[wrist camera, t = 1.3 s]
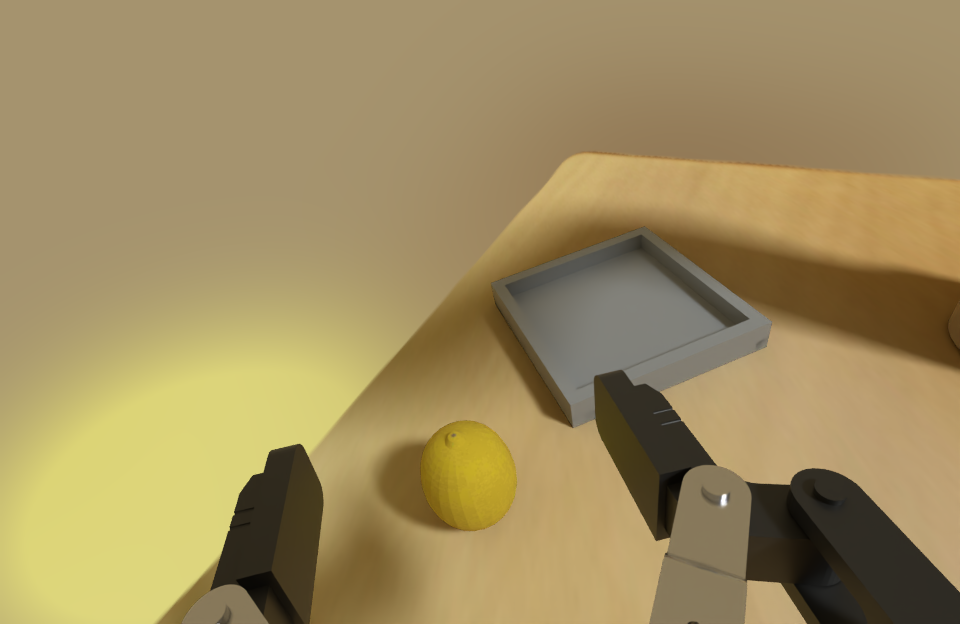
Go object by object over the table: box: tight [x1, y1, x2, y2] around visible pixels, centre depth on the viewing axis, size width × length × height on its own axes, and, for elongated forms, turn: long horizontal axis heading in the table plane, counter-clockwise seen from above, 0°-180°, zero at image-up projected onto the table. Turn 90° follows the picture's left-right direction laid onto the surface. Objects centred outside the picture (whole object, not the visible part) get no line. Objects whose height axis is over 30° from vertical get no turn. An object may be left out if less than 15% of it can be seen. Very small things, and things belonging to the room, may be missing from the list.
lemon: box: [420, 420, 517, 531], centre depth 29 cm, size 6×6×8 cm
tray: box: [491, 226, 772, 428], centre depth 42 cm, size 16×16×2 cm
